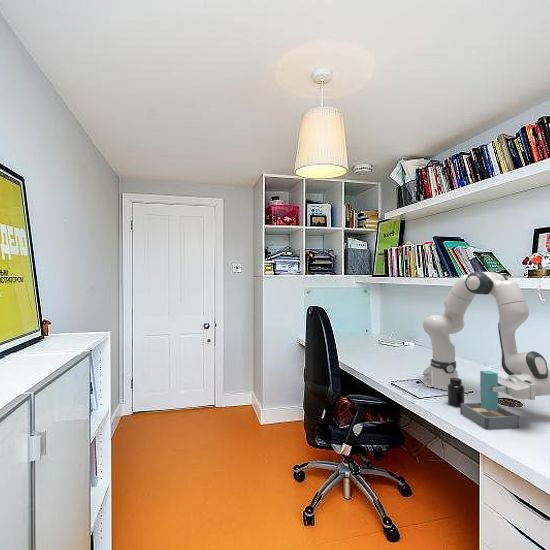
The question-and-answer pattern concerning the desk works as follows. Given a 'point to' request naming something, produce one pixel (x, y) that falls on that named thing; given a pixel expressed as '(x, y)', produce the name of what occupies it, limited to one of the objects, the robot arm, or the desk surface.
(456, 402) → the supplement bottle
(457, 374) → the robot arm
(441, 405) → the desk surface
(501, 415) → the open box
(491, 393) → the peg
